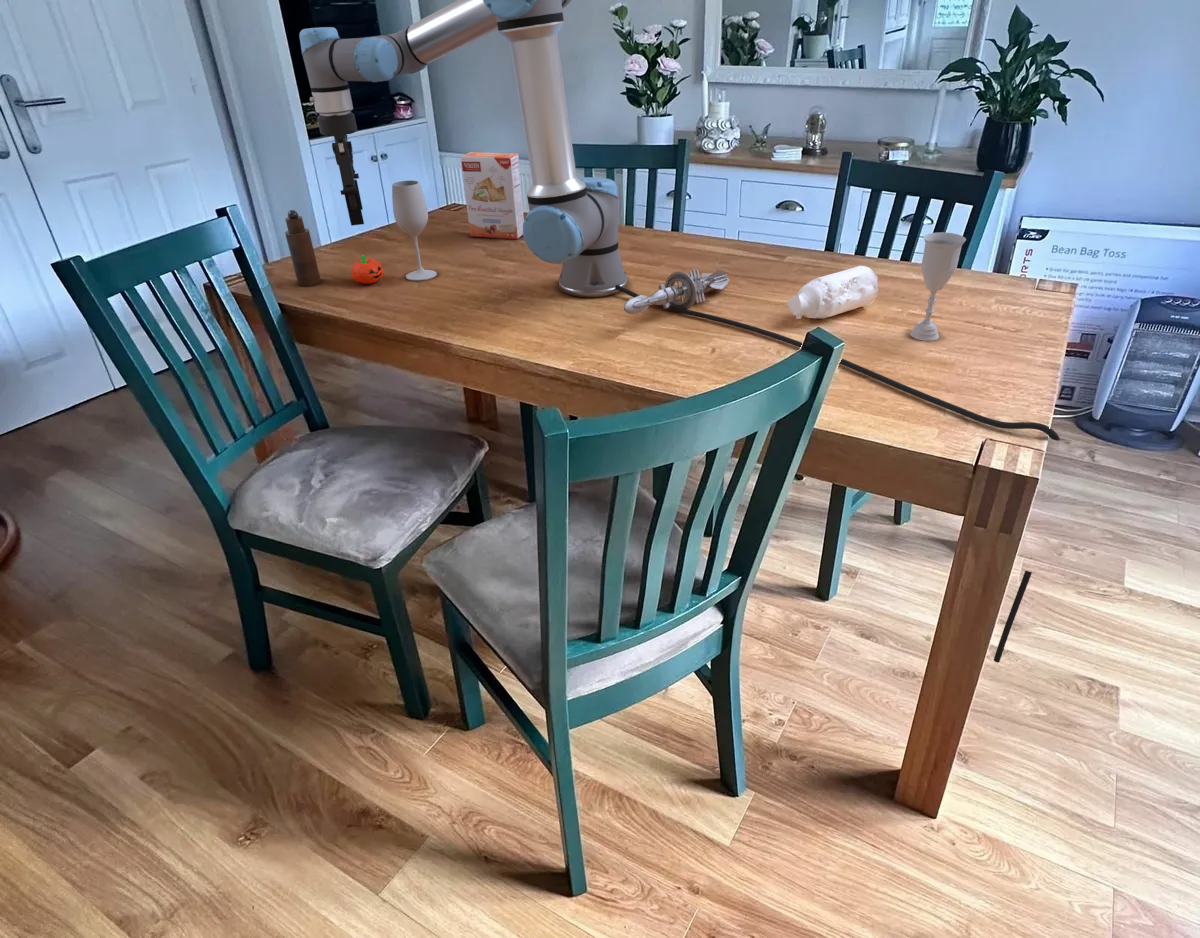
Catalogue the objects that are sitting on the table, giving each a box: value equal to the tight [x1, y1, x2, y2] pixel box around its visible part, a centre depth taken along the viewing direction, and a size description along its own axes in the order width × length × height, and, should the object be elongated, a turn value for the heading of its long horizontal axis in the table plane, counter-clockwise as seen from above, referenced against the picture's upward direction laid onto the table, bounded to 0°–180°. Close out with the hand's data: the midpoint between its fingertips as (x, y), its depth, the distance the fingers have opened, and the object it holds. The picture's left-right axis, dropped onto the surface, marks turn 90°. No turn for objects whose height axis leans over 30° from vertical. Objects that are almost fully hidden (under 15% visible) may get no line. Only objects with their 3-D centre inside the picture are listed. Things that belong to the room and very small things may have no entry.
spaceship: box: [623, 268, 730, 315], centre depth 155 cm, size 8×35×8 cm
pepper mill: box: [284, 209, 322, 287], centre depth 176 cm, size 5×5×17 cm
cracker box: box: [460, 151, 525, 240], centre depth 202 cm, size 14×6×21 cm, turn 73°
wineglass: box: [391, 179, 438, 282], centre depth 176 cm, size 8×8×21 cm
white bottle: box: [787, 265, 880, 320], centre depth 150 cm, size 8×19×8 cm, turn 121°
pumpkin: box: [350, 254, 385, 285], centre depth 178 cm, size 7×8×6 cm
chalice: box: [909, 231, 967, 342], centre depth 138 cm, size 7×7×18 cm
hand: (357, 217), depth 171 cm, fingers open, 13 cm apart
